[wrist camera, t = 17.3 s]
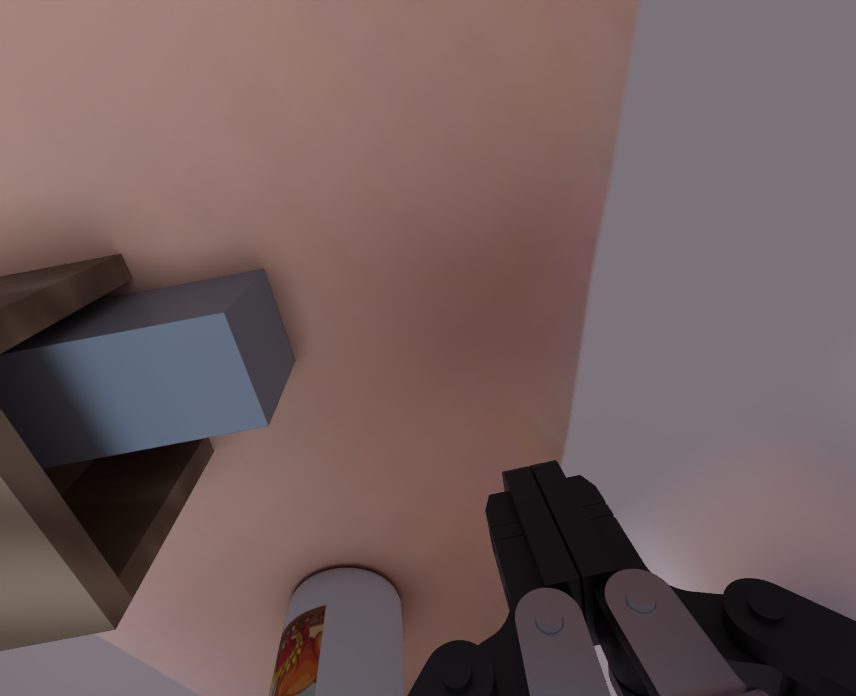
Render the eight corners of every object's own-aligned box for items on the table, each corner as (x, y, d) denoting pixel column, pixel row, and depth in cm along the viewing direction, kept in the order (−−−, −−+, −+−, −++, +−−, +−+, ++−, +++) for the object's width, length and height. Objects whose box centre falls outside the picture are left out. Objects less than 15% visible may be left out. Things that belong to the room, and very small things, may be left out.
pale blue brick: (295, 359, 24) (268, 426, 18) (71, 401, 24) (-22, 480, 18) (265, 268, 22) (223, 312, 16) (18, 314, 22) (-105, 374, 16)
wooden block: (213, 451, 26) (115, 629, 16) (92, 474, 26) (-75, 664, 16) (120, 254, 21) (-95, 350, 12) (-30, 282, 21) (-365, 401, 12)
